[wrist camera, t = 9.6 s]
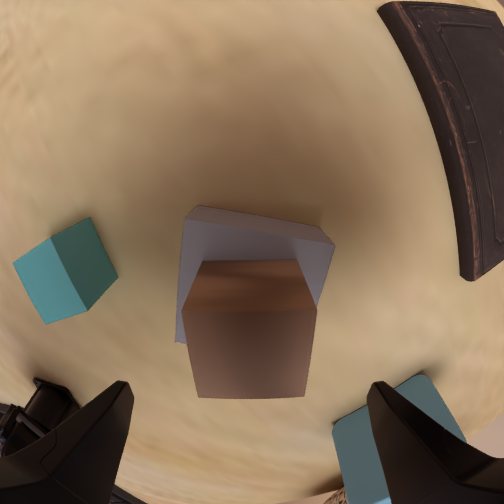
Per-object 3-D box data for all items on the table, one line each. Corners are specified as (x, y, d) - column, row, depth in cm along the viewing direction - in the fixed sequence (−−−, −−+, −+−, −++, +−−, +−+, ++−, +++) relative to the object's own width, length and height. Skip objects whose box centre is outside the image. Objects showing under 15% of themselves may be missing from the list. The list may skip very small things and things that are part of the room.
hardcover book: (482, 16, 10) (495, 11, 8) (536, 214, 17) (549, 220, 15) (372, 13, 12) (385, 1, 10) (456, 273, 20) (470, 284, 18)
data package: (344, 435, 27) (364, 515, 15) (328, 423, 25) (349, 513, 14) (429, 385, 24) (471, 459, 13) (423, 368, 23) (472, 450, 12)
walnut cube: (210, 336, 16) (198, 397, 12) (202, 260, 14) (181, 310, 10) (292, 335, 16) (304, 396, 11) (297, 259, 14) (317, 309, 10)
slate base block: (187, 309, 20) (175, 341, 16) (198, 204, 17) (184, 218, 14) (290, 325, 21) (297, 359, 17) (318, 225, 18) (335, 245, 14)
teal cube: (77, 293, 20) (45, 324, 15) (50, 240, 18) (12, 262, 13) (118, 276, 19) (87, 311, 14) (90, 216, 17) (50, 237, 13)
